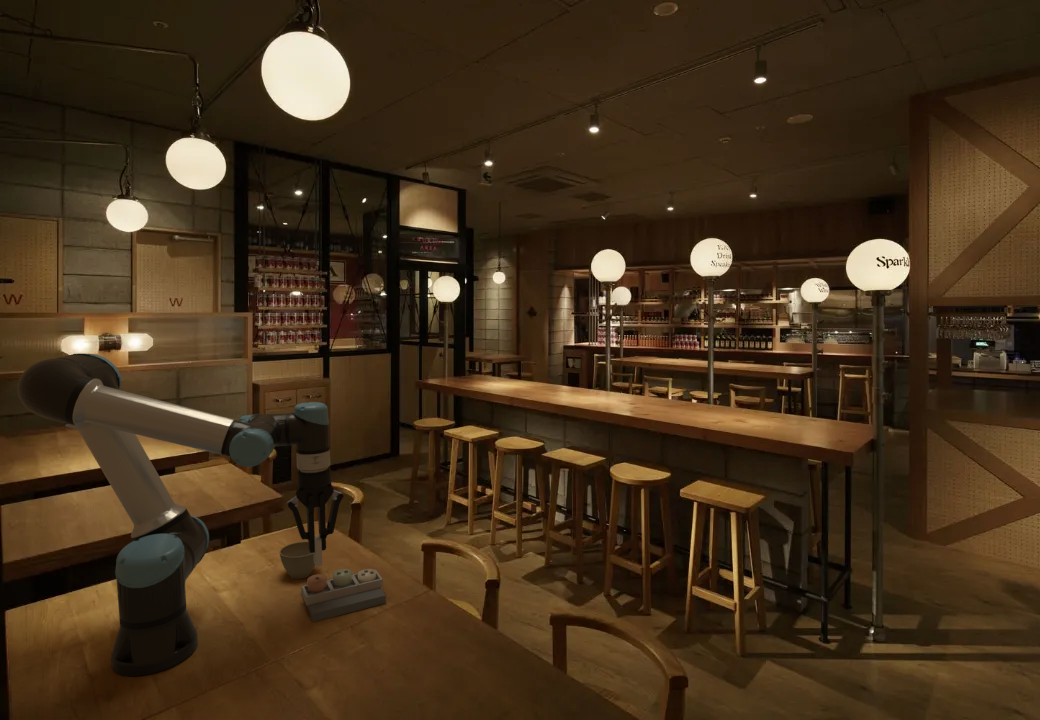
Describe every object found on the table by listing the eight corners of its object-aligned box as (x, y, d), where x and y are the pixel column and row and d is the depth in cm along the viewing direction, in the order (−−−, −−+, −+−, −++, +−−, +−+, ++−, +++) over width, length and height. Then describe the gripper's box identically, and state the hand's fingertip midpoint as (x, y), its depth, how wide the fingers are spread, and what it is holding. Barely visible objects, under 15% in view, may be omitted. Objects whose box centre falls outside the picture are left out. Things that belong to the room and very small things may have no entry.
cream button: (360, 588, 142) (360, 577, 142) (356, 580, 146) (355, 570, 146) (378, 584, 145) (378, 573, 144) (373, 576, 148) (373, 566, 148)
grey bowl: (307, 585, 149) (306, 558, 148) (272, 581, 151) (271, 555, 150) (327, 568, 159) (326, 542, 158) (294, 564, 161) (293, 539, 160)
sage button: (335, 588, 139) (335, 577, 139) (331, 580, 143) (331, 570, 143) (353, 584, 142) (353, 573, 141) (349, 576, 145) (349, 566, 145)
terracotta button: (309, 594, 136) (309, 583, 136) (306, 586, 140) (305, 576, 140) (328, 590, 139) (328, 579, 138) (324, 582, 142) (324, 571, 142)
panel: (310, 622, 132) (309, 606, 131) (299, 593, 145) (298, 578, 144) (388, 602, 141) (388, 586, 140) (371, 576, 154) (370, 562, 153)
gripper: (287, 476, 130) (291, 576, 132) (345, 468, 136) (349, 563, 139) (282, 468, 136) (286, 564, 139) (338, 460, 143) (342, 552, 145)
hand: (318, 563), depth 139 cm, fingers closed
